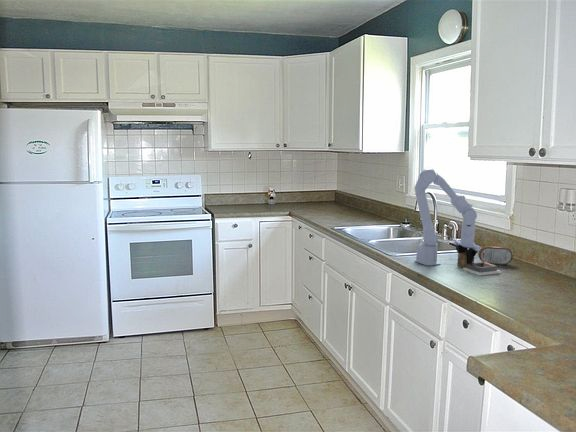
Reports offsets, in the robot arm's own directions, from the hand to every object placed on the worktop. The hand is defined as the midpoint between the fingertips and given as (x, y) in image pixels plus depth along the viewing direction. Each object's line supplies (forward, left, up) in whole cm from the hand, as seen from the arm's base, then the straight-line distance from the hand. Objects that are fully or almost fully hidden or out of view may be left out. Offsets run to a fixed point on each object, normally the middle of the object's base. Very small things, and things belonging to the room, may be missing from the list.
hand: (465, 263), depth 247 cm
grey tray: (+10, 0, -1) cm, 10 cm away
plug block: (0, 0, -1) cm, 1 cm away
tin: (+1, +17, -2) cm, 17 cm away
